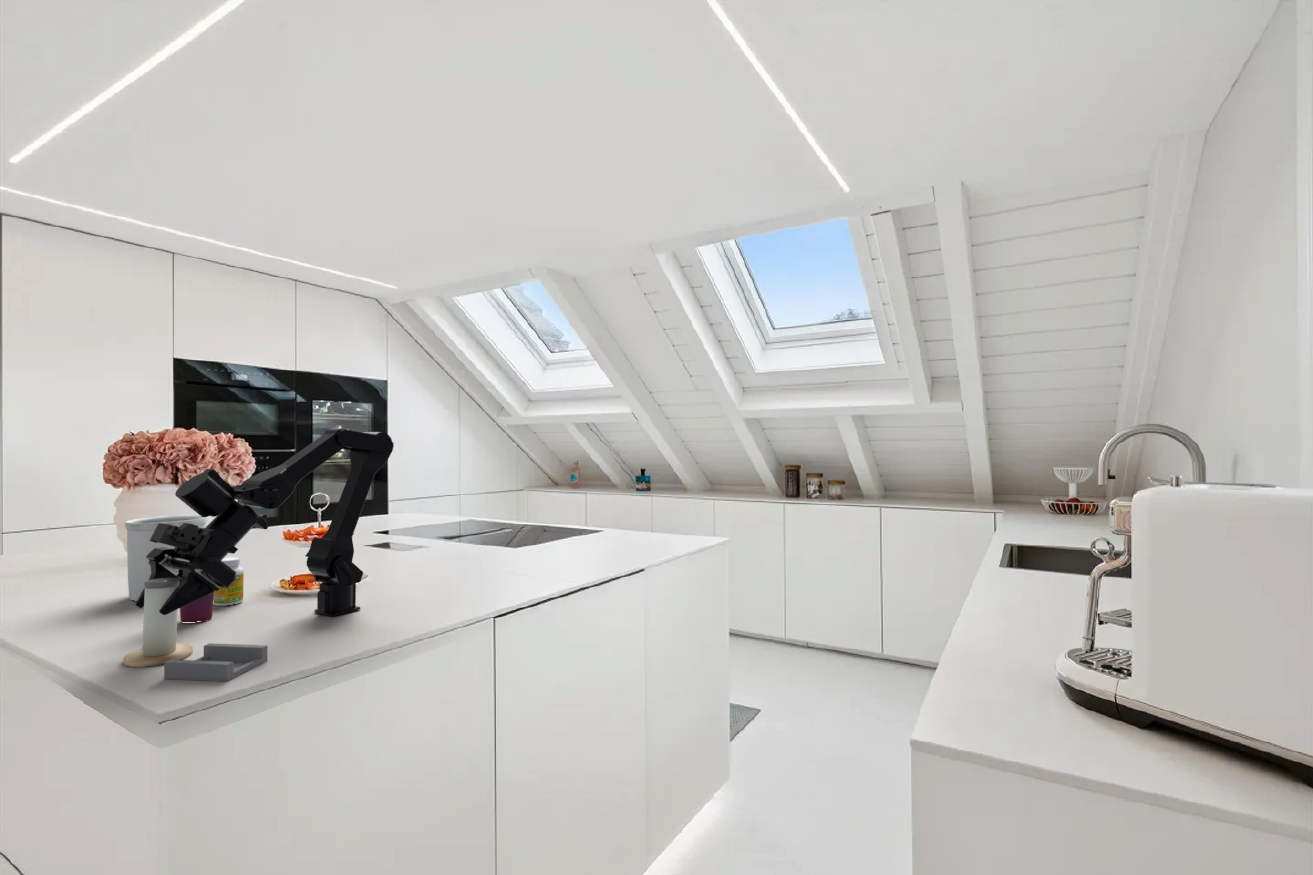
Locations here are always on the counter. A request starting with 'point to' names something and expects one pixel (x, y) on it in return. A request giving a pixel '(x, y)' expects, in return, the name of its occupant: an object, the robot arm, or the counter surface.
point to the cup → (198, 609)
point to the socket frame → (217, 662)
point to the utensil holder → (148, 546)
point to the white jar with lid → (159, 618)
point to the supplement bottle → (236, 589)
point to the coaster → (156, 657)
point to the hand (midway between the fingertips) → (149, 610)
